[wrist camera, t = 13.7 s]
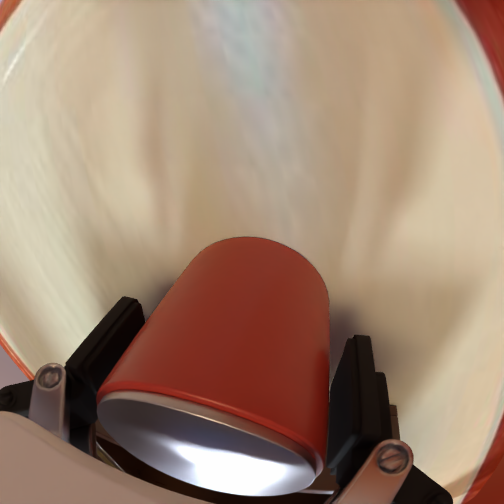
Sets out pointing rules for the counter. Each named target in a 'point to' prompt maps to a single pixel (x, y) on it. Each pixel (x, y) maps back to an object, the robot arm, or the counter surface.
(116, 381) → the tin can
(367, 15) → the counter surface
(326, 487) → the chest
